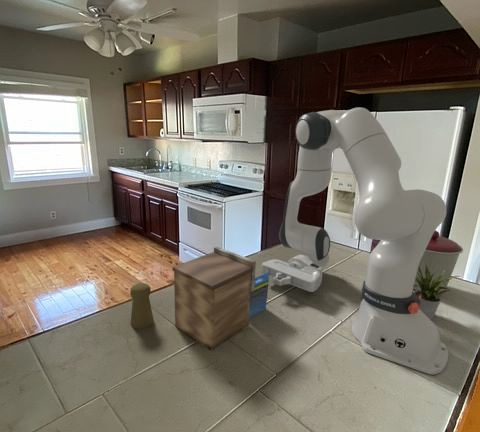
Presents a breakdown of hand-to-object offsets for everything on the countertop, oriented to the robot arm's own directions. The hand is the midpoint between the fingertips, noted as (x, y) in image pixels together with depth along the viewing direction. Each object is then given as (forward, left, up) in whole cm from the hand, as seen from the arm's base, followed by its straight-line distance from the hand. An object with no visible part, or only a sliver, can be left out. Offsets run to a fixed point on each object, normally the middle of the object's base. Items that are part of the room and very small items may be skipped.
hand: (276, 282), depth 98 cm
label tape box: (+1, +11, -6) cm, 13 cm away
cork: (+19, +36, -6) cm, 41 cm away
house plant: (-36, -24, -6) cm, 44 cm away
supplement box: (-16, -49, -6) cm, 52 cm away
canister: (-33, -44, -6) cm, 55 cm away
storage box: (+4, +24, -6) cm, 25 cm away
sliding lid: (+4, +24, +4) cm, 24 cm away
